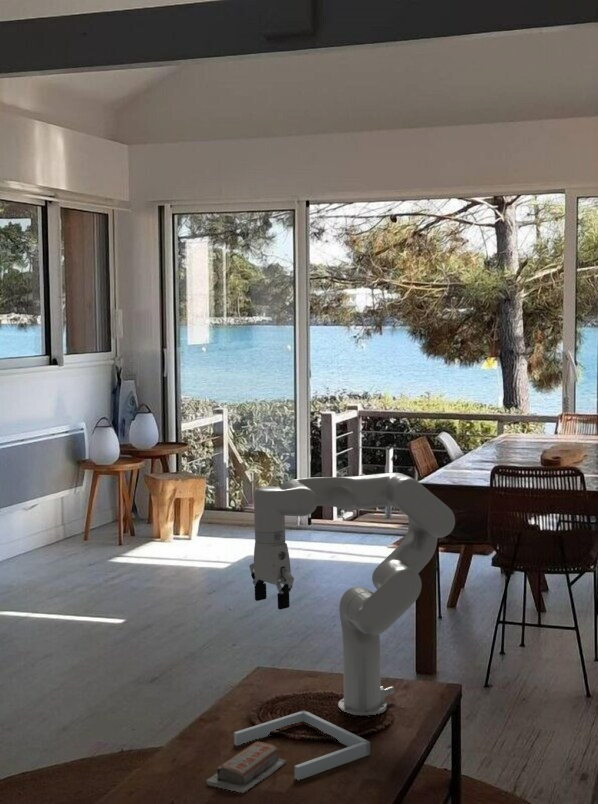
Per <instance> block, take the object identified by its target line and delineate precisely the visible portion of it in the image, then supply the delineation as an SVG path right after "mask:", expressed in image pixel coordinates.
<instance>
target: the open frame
mask: <svg viewBox="0 0 598 804" xmlns="http://www.w3.org/2000/svg"><path fill="white" fill-rule="evenodd" d="M302 721H304V722H306V723H308V724H310V725H312V726H314V727H316V728H318V729H319V730H321V731H323V732H324V733H327V734H329V735H331V736H333V737H335V738H336V739H337V740H338V741H339V742H338V741H337V742H338V743H340V744H342V745H344V746H346V747H343V748H342V749H338V750H336V751H333V752H330V753H327V754H325V755H322V756H319V757H316V758H312V759H310V760H308V761H307V760H306V761H305V762H302V763H299V764H296V765H294V779H295V780H296V779H297V780H296V781H301V780H303V779H306V778H309V777H311V776H314V775H317V774H319V773H322V772H323V773H324V772H325V771H327V770H331V769H333V768H336V767H339V766H342V765H345V764H347V763H351V762H354V761H356V760H358V759H361V758H364V757H366V756H369V755H371V741H369V740H367V739H365V738H363V737H361V736H359V735H358V734H357V735H356V734H355V733H352V732H351V731H348V730H346V729H344V728H343V727H339V726H338V725H336V724H334V723H333V722H329V721H327V720H325V719H323V718H322V717H319V716H317V715H315V714H313V713H312V712H309V711H306V710H301V711H298V712H295V713H291V714H289V715H285V716H282V717H281V716H280V717H278V718H275V719H272V720H269V721H266V722H262V723H259V724H256V725H254V726H250V727H246V728H244V729H239V730H237V731H234V732H233V742H234V743H233V744H234V745H235V746H236V747H239V746H242V745H244V744H243V743H245V744H248V743H250V742H249V741H251V742H253V741H252V740H254V741H256V740H255V739H257V740H260V739H264V738H266V737H269V736H270V735H269V734H270V732H271V731H273V730H276V729H279V728H281V727H284V726H287V725H291V724H295V723H299V722H302ZM268 735H269V736H268ZM259 738H260V739H259ZM247 742H248V743H247ZM241 744H242V745H241ZM238 745H239V746H238ZM300 779H301V780H300Z"/></svg>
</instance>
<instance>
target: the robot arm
mask: <svg viewBox="0 0 598 804" xmlns="http://www.w3.org/2000/svg"><path fill="white" fill-rule="evenodd" d="M322 506H323V507H332V508H336V509H337V508H338V509H342V510H346V511H347V510H349V511H358V510H359V511H360V510H366V509H376V508H377V509H378V508H385V507H386V508H388V507H395V508H396V509H399V510H400V511H401V512H402V513H403V514H404V515H406V516H407V517H408V519H407V520H408V529H407V532H406V535H405V537H404V539H403V540H402V541H401V542H400V543H399V545H398V546H397V547H396V548H394V550H393V551H392V552H391V553H390V554H388V555H387V556H386V557H385V558H384V559H383V560H382V561H381V562H380V563H379V565H377V567H375V569H374V570H373V572H372V574H371V575H372V576H371V581H372V584H373V586H374V588H375V589H376V590H375V591H374V592H373V591H372V590H370V589H368V588H366V587H363V586H354V587H350V588H349V589H347V590H346V591H345V592H344V593H343V594H342V596H341V598H340V601H339V610H338V611H339V617H340V625H341V633H342V665H343V666H342V672H343V676H342V677H343V698H342V699H340V700H339V701H338V703H337V708H338V707H339V708H340V709H341V710H342V711H344V712H347V713H350V714H353V715H375V716H377V715H376V714H378V715H380V713H381V714H382V713H384V712H386V710H387V709H388V704H387V703H388V702H387V700H385V698H386V697H387V696H391V695H393V694H395V688H394V686H388V687H386V688H385V687H384V686H383V685H381V653H380V652H381V640H380V635H381V634H383V633H384V632H386V631H387V630H388V629H389V628H390V627H392V625H393V624H395V623H396V622H397V621H398V619H400V618H401V617H402V616H403V615H404V613H406V612H407V611H408V610H409V609H410V608H411V607H412V605H414V603H416V601H417V600H418V598H419V596H420V594H421V592H422V585H423V584H422V579H421V577H420V575H419V573H420V572H422V570H423V569H424V568H425V566H426V565H427V564H428V563H429V562H430V561H431V559H432V558H433V556H434V555H435V552H436V549H437V545H438V539H439V538H441V539H442V538H446V536H449V535H450V534H451V533H452V532H453V530H454V528H455V526H456V518H455V514H454V512H453V510H452V509H451V508H450V507H449V506H448V505H447V504H445V503H444V502H443V501H442V500H441V499H439V497H437V496H435V494H433V493H432V492H431V491H430V490H429V489H428V488H426V487H425V486H424V485H423V484H421V482H419V481H418V480H416V479H415V478H414V477H411V476H409V475H406V474H404V473H402V472H401V473H400V472H385V473H375V474H374V473H373V474H366V475H355V476H329V477H327V476H326V477H325V476H322V477H321V476H320V477H317V476H316V477H305V478H296V479H290V480H287V481H285V482H284V483H282V484H281V485H280V486H275V485H274V486H273V485H272V486H271V485H270V486H269V485H267V486H260V487H257V488H256V489H255V490H254V492H253V511H254V513H253V514H254V515H253V516H254V518H253V521H254V550H253V563H251V564H249V570H250V573H251V575H250V576H251V578H252V584H253V585H254V600H255V601H256V602H259V601H264V600H267V584H271V585H275V586H276V589H277V591H278V593H277V609H278V610H284V609H287V608H290V593H291V589H292V588H293V585H294V581H295V578H294V576H293V575H292V573H291V572H292V571H291V560H290V553H289V547H288V543H287V542H286V519H285V518H286V517H288V516H289V517H306V516H309V515H311V514H312V513H314V512H315V510H316V509H317V507H322ZM265 582H266V583H265ZM282 585H283V586H282Z"/></svg>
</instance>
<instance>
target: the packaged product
mask: <svg viewBox="0 0 598 804" xmlns="http://www.w3.org/2000/svg"><path fill="white" fill-rule="evenodd" d="M278 751H279V749H278V747H277V746H275V745H274V744H273V743H272V744H271V743H266V742H263V741H255V742H254V743H252V744H250V745H249V746H247V747H246V748H244V749H243V750H241V751H239V752H238V753H237V754H235V755H234V756H232V757H231V758H230V759H228V760H226V761H225V762H223V763H222V764H220V765H219V766H218V767H217V768H216V773H214V775H212V776H211V777H209V778H207V779H206V784H207V786H210V787H213V786H214V787H213V788H216V787H219V788H218V789H220V788H223V789H222V790H224V789H227V790H226V791H228V790H231V791H230V792H232V791H236V792H242V793H244V792H245V791H247V790H248V789H250V788H251V789H252V788H254V787H255V786H256V785H255V784H257V783H258V782H259V783H261V782H262V781H263V779H264V780H266V779H267V778H268V777H270V776H271V775H272V774H273V773H274V772H276V771H278V769H280V768H281V767H283V766H284V765H286V764H287V760H286V759H283V758H279V752H278ZM260 781H261V782H260ZM259 783H258V784H259ZM258 784H257V785H258ZM254 785H255V786H254ZM251 789H250V790H251ZM236 792H235V793H236ZM247 792H248V791H247ZM244 794H245V793H244Z"/></svg>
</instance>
